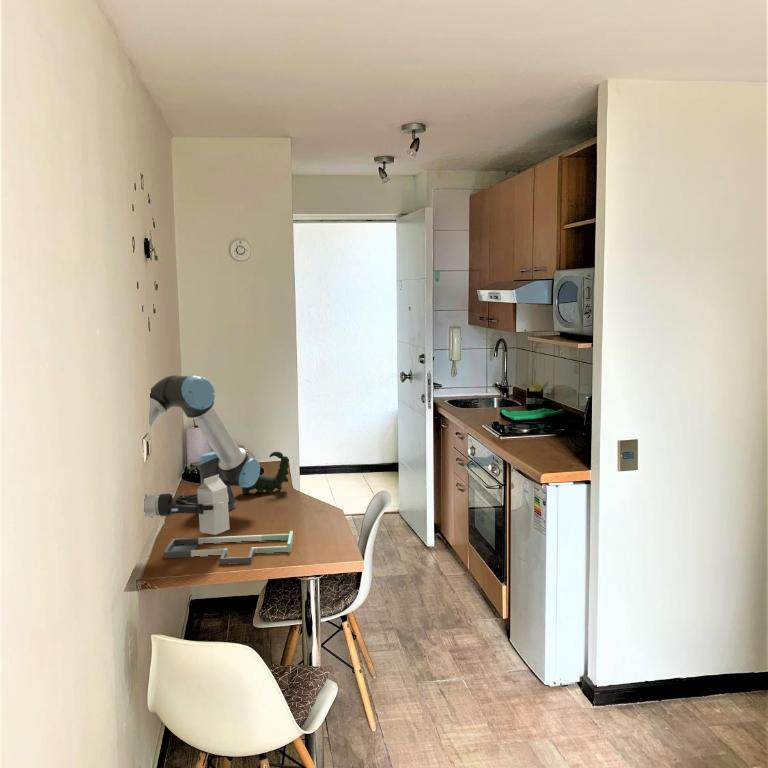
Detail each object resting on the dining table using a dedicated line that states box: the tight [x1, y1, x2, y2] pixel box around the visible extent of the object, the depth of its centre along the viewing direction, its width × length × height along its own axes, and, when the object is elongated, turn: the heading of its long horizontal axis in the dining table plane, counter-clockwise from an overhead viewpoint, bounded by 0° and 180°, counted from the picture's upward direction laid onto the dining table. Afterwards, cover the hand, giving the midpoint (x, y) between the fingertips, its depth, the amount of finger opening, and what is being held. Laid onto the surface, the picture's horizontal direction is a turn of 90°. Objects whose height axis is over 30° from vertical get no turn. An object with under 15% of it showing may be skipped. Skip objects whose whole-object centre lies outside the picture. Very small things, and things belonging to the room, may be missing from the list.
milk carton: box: [196, 474, 231, 536], centre depth 262 cm, size 7×7×19 cm
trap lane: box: [162, 530, 294, 565], centre depth 259 cm, size 23×42×3 cm, turn 93°
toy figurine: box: [240, 451, 290, 495], centre depth 336 cm, size 9×19×25 cm
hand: (225, 501), depth 262 cm, fingers closed on milk carton, 10 cm apart
